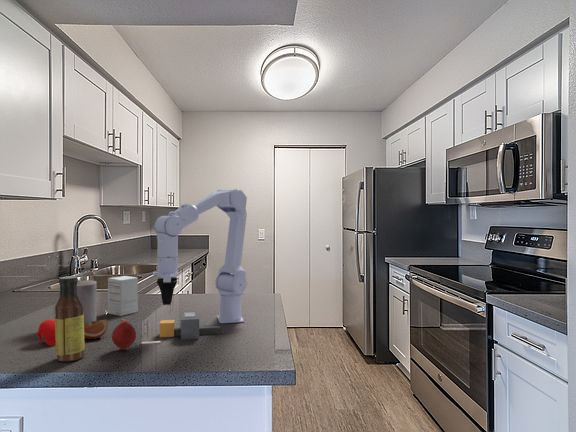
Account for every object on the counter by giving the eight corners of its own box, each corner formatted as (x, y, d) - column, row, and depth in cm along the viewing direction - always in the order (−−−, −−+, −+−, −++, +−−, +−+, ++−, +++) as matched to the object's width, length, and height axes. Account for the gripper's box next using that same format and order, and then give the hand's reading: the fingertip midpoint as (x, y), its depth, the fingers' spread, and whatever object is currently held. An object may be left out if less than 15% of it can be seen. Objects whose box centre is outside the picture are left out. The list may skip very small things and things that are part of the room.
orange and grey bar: (220, 331, 129) (220, 318, 129) (220, 334, 126) (221, 320, 126) (160, 333, 125) (160, 320, 125) (159, 337, 122) (159, 323, 122)
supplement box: (124, 309, 156) (125, 275, 156) (138, 312, 152) (138, 277, 152) (107, 313, 150) (107, 277, 150) (120, 316, 146) (121, 279, 146)
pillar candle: (64, 323, 136) (64, 276, 135) (97, 320, 139) (98, 275, 139) (59, 331, 126) (60, 281, 126) (95, 328, 130) (95, 280, 130)
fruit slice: (77, 343, 115) (77, 325, 115) (73, 337, 120) (73, 320, 120) (109, 339, 119) (110, 321, 119) (104, 333, 125) (104, 316, 125)
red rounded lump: (128, 345, 114) (128, 315, 114) (140, 349, 110) (140, 319, 110) (107, 350, 109) (108, 319, 109) (119, 355, 106) (119, 323, 106)
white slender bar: (141, 343, 116) (141, 342, 116) (160, 342, 117) (160, 340, 117) (141, 344, 115) (141, 343, 115) (160, 343, 116) (160, 341, 116)
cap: (31, 329, 116) (32, 322, 112) (54, 319, 120) (55, 312, 116) (44, 354, 115) (45, 348, 110) (67, 343, 118) (69, 336, 114)
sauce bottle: (88, 354, 106) (89, 275, 106) (77, 363, 100) (78, 279, 100) (62, 354, 106) (63, 275, 106) (49, 363, 100) (50, 278, 100)
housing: (180, 330, 129) (180, 310, 129) (197, 329, 131) (197, 310, 131) (181, 340, 119) (181, 319, 119) (199, 338, 120) (199, 318, 120)
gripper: (154, 254, 129) (153, 299, 129) (152, 259, 115) (151, 309, 115) (178, 254, 131) (177, 298, 131) (178, 259, 117) (178, 308, 117)
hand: (167, 303), depth 123 cm, fingers open, 3 cm apart
